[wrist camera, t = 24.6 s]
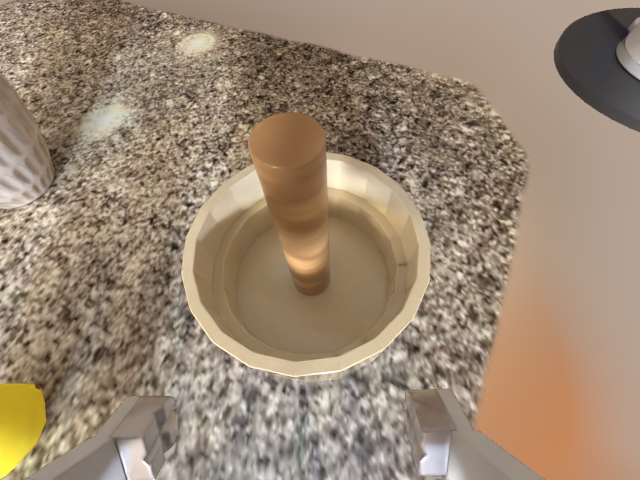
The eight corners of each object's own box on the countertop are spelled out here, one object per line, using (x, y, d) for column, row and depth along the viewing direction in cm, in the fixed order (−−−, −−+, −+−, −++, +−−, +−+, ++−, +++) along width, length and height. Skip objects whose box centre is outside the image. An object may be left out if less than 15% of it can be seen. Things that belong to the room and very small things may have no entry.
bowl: (382, 199, 27) (397, 140, 21) (427, 368, 20) (468, 355, 14) (226, 217, 27) (194, 163, 21) (217, 394, 20) (165, 393, 14)
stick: (327, 260, 23) (321, 107, 11) (332, 294, 22) (330, 162, 10) (292, 264, 23) (247, 115, 11) (295, 298, 22) (246, 172, 10)
